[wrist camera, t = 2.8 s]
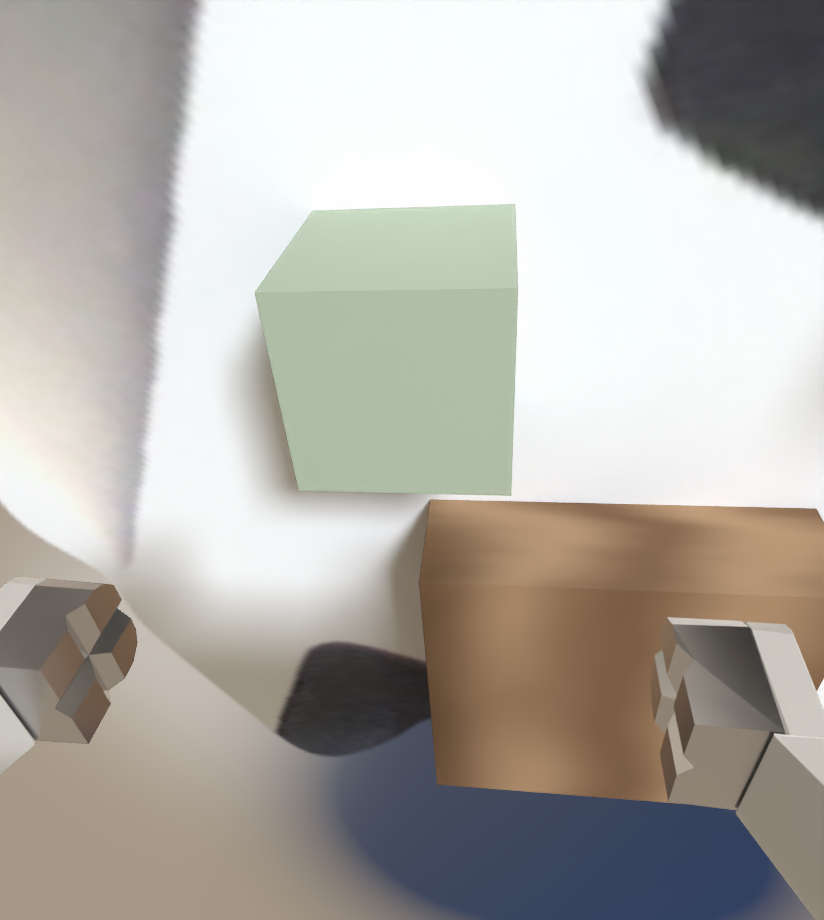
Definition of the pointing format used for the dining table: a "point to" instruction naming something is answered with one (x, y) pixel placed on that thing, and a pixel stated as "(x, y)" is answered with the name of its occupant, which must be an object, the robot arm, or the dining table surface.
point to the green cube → (397, 349)
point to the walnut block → (590, 628)
